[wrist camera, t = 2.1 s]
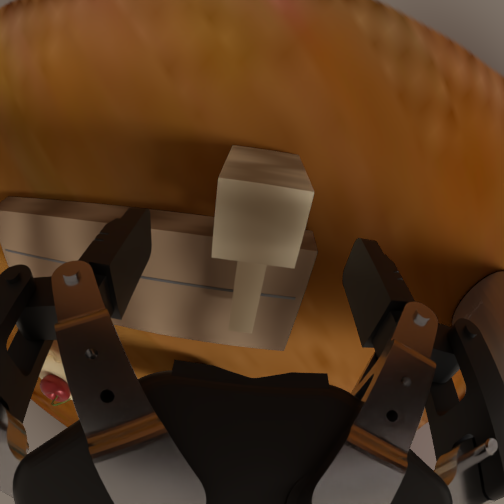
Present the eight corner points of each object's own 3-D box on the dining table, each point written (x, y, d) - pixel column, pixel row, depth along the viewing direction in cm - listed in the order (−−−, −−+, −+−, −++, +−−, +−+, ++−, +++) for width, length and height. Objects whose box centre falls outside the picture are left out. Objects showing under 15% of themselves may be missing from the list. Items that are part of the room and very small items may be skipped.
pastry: (27, 325, 30) (-3, 372, 22) (65, 306, 26) (25, 368, 18) (84, 380, 35) (64, 427, 27) (134, 374, 31) (112, 435, 24)
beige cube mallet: (298, 155, 17) (314, 192, 12) (270, 283, 22) (271, 344, 17) (232, 144, 17) (218, 177, 12) (218, 276, 22) (206, 336, 17)
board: (312, 230, 20) (318, 251, 17) (282, 328, 25) (283, 351, 23) (8, 196, 18) (-10, 209, 16) (33, 282, 24) (21, 298, 22)
